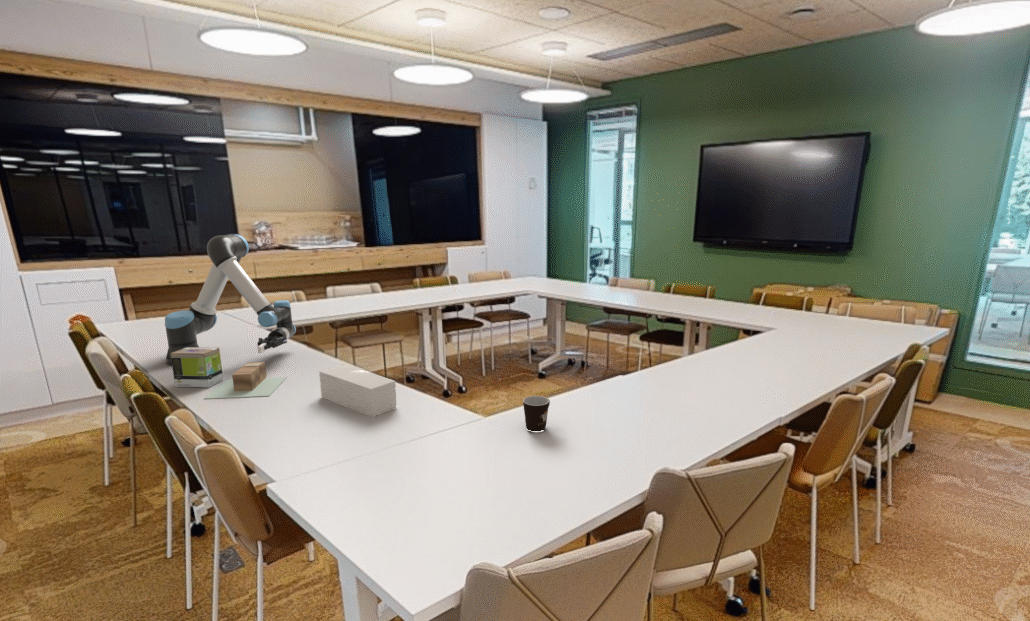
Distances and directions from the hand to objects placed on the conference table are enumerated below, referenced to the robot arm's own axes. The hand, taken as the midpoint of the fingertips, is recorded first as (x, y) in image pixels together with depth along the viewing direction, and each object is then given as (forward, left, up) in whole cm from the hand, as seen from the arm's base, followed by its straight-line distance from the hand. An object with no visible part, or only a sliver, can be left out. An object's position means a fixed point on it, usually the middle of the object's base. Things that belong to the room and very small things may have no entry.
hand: (259, 349), depth 227 cm
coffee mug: (+70, +112, -11) cm, 133 cm away
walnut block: (+6, 0, -7) cm, 9 cm away
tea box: (+9, -22, -11) cm, 26 cm away
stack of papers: (+39, +48, -12) cm, 63 cm away
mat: (+17, 0, -11) cm, 21 cm away
